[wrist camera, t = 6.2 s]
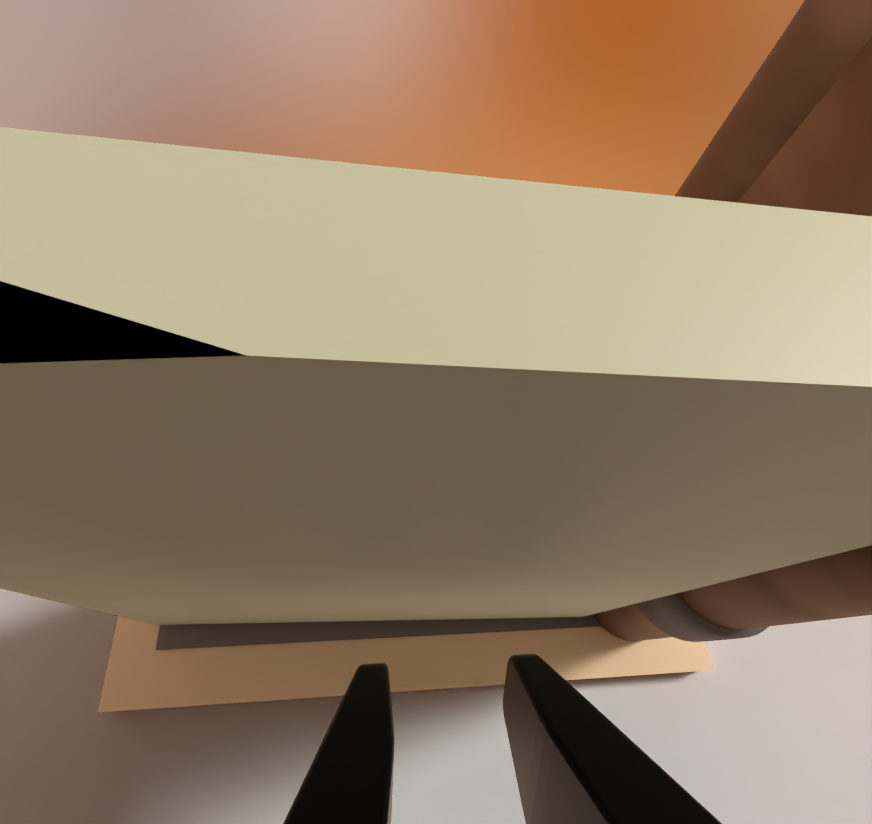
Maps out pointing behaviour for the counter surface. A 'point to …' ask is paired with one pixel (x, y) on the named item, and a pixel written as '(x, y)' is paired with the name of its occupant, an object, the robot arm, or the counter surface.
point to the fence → (800, 189)
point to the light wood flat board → (362, 657)
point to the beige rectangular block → (412, 388)
